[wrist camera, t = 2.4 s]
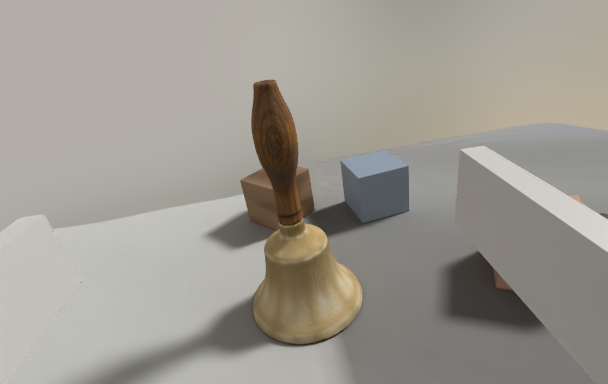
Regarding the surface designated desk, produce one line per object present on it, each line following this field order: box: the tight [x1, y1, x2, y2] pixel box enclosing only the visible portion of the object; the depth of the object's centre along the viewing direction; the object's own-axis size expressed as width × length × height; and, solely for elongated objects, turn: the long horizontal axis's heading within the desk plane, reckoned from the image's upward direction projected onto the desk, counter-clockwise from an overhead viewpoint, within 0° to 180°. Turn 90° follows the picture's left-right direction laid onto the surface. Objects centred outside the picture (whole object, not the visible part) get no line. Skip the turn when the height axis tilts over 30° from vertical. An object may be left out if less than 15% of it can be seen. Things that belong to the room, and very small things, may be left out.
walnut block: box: [241, 167, 315, 231], centre depth 36 cm, size 5×5×5 cm
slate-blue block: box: [341, 150, 409, 223], centre depth 35 cm, size 5×5×5 cm
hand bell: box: [252, 80, 362, 344], centre depth 22 cm, size 8×8×16 cm
